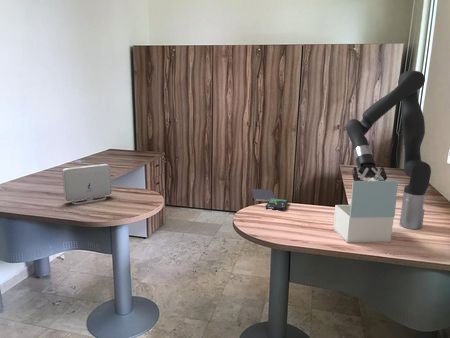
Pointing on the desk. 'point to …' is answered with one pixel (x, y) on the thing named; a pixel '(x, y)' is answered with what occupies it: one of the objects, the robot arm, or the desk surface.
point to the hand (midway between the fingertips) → (373, 189)
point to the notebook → (262, 194)
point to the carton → (361, 227)
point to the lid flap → (373, 199)
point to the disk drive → (277, 204)
